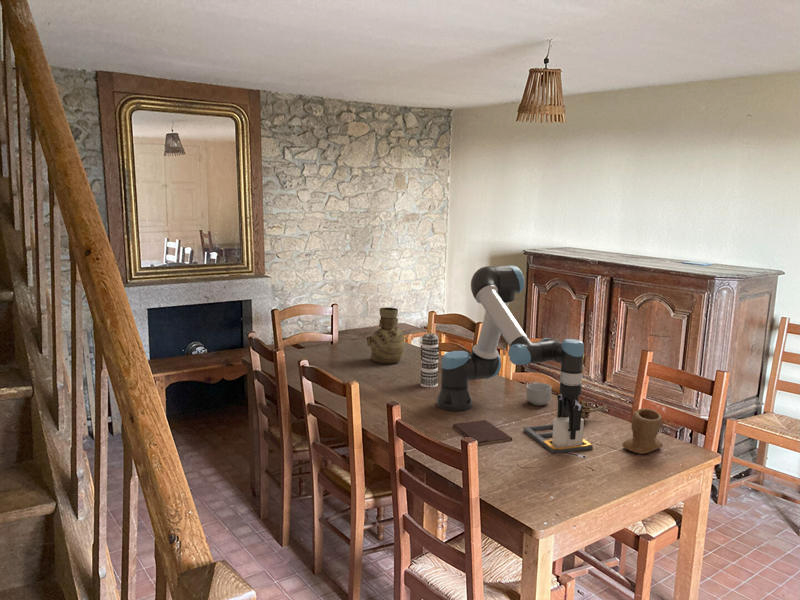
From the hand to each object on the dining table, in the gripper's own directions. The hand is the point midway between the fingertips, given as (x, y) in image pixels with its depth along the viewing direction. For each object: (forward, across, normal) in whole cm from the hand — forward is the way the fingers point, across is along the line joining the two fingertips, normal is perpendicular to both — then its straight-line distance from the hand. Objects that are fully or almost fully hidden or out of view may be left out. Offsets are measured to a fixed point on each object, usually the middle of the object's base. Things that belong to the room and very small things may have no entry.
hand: (567, 444), depth 223 cm
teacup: (+1, +48, -14) cm, 50 cm away
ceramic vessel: (+1, +130, +34) cm, 135 cm away
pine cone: (+1, +23, -22) cm, 32 cm away
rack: (+1, +7, 0) cm, 7 cm away
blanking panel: (0, 0, 0) cm, 0 cm away
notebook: (+2, +20, +25) cm, 32 cm away
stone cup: (+1, -9, -26) cm, 28 cm away
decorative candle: (+1, +84, +24) cm, 88 cm away
